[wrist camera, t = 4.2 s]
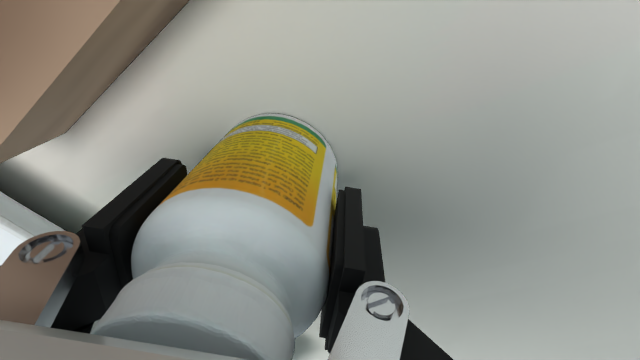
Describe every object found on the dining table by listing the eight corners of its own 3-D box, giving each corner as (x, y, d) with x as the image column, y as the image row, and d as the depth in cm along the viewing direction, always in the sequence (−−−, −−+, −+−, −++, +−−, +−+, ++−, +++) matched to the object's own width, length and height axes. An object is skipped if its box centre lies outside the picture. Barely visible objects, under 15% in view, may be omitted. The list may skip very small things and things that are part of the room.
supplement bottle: (355, 195, 15) (363, 438, 7) (258, 227, 16) (163, 461, 8) (306, 88, 13) (223, 252, 4) (198, 136, 14) (-19, 330, 6)
